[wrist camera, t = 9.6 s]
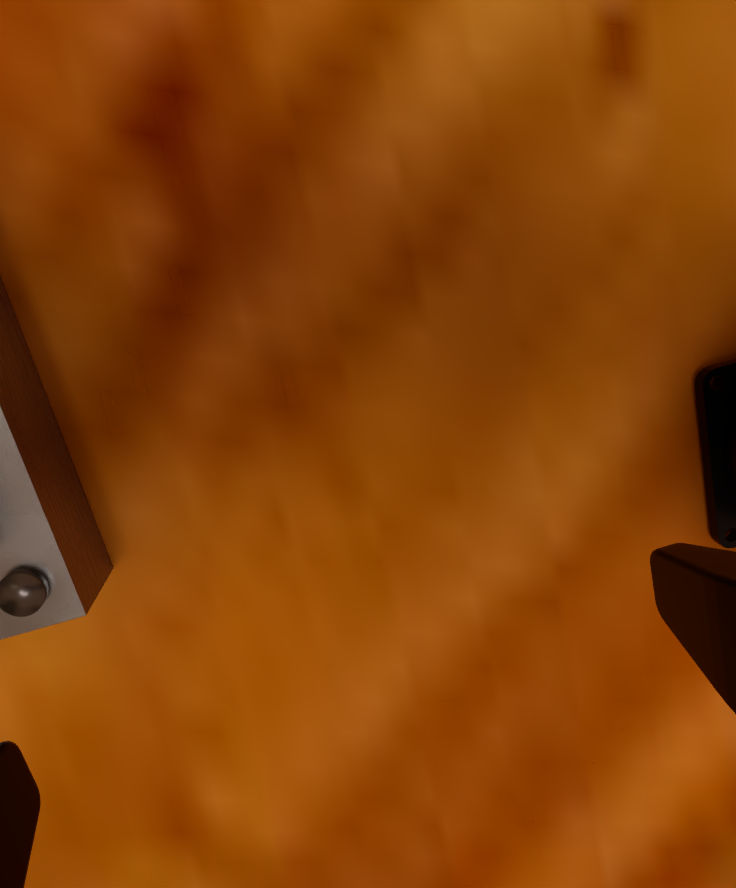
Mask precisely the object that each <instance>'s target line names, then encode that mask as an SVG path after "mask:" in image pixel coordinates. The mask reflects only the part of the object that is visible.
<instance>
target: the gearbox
mask: <svg viewBox="0 0 736 888" xmlns="http://www.w3.org/2000/svg"><path fill="white" fill-rule="evenodd" d="M112 570H113V566H112V564H111V561H110V558H109V556H108V553H107V551H106V548H105V546H104V543H103V540H102V538H101V535H100V533H99V530H98V528H97V525H96V522H95V520H94V517H93V515H92V512H91V510H90V507H89V504H88V502H87V499H86V497H85V494H84V492H83V489H82V486H81V484H80V481H79V479H78V476H77V474H76V471H75V468H74V466H73V463H72V461H71V458H70V456H69V453H68V450H67V448H66V445H65V443H64V440H63V438H62V435H61V432H60V430H59V427H58V425H57V422H56V420H55V417H54V414H53V412H52V409H51V407H50V404H49V402H48V399H47V396H46V394H45V391H44V389H43V386H42V384H41V381H40V378H39V376H38V373H37V371H36V368H35V366H34V363H33V360H32V358H31V355H30V353H29V350H28V348H27V345H26V342H25V340H24V337H23V335H22V332H21V330H20V327H19V324H18V322H17V319H16V317H15V314H14V312H13V309H12V306H11V304H10V301H9V299H8V296H7V294H6V291H5V288H4V286H3V283H2V281H1V278H0V640H1V639H4V638H8V637H11V636H15V635H18V634H22V633H25V632H29V631H32V630H36V629H39V628H43V627H46V626H50V625H53V624H57V623H60V622H64V621H67V620H71V619H74V618H78V617H81V616H85V615H86V614H87V613H88V611H89V609H90V608H91V606H92V604H93V602H94V601H95V599H96V597H97V595H98V594H99V592H100V590H101V589H102V587H103V585H104V583H105V582H106V580H107V578H108V576H109V575H110V573H111V571H112Z"/></svg>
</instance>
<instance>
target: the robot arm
mask: <svg viewBox="0 0 736 888" xmlns="http://www.w3.org/2000/svg"><path fill="white" fill-rule="evenodd" d="M714 376H715V377H716V384H715V385H714V387H712V388H711V387H710V381H711V379H712V378H713V377H714ZM695 388H696V398H697V407H698V416H699V425H700V435H701V444H702V453H703V462H704V472H705V481H706V490H707V500H708V509H709V518H710V527H711V535H712V538H713V540H714V541H715V542H716V543H718V544H720V545H721V546H723V547H726V548H734V547H736V359H734V360H730V361H726V362H723V363H719V364H715V365H712V366H708V367H706V368H704V369H702V370H701V371H700V372H699V373H698V375H697V377H696V381H695ZM729 529H731V532H730V534H729V535H728V536H726V537H725V534H726V532H727V531H728V530H729ZM650 565H651V573H652V580H653V587H654V594H655V601H656V605H657V609H658V611H659V613H660V615H661V617H662V619H663V620H664V622H665V623H666V624H667V626H668V627H669V628H670V630H671V631H672V632H673V634H674V635H675V636H676V638H677V639H678V640H679V642H680V643H681V644H682V646H683V647H684V648H685V650H686V651H687V652H688V653H689V655H690V656H691V657H692V659H693V660H694V661H695V663H696V664H697V665H698V667H699V668H700V669H701V671H702V672H703V673H704V675H705V676H706V677H707V679H708V680H709V681H710V683H711V684H712V685H713V687H714V688H715V689H716V691H717V692H718V693H719V695H720V696H721V697H722V698H723V700H724V701H725V702H726V703H727V705H728V706H729V707H730V708H731V709H732V710H733V711H734V712H735V714H736V552H734V551H728V550H722V549H716V548H710V547H704V546H698V545H692V544H686V543H675V544H672V545H668V546H665V547H662V548H658V549H656V550H654V551H653V552H652V554H651V557H650ZM39 811H40V793H39V789H38V787H37V784H36V782H35V780H34V778H33V776H32V774H31V772H30V770H29V768H28V765H27V763H26V761H25V759H24V757H23V755H22V753H21V751H20V749H19V747H18V746H17V745H16V744H15V743H13V742H10V741H5V742H1V743H0V888H24V884H25V879H26V874H27V870H28V865H29V860H30V855H31V850H32V845H33V840H34V836H35V831H36V826H37V821H38V816H39Z"/></svg>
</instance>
